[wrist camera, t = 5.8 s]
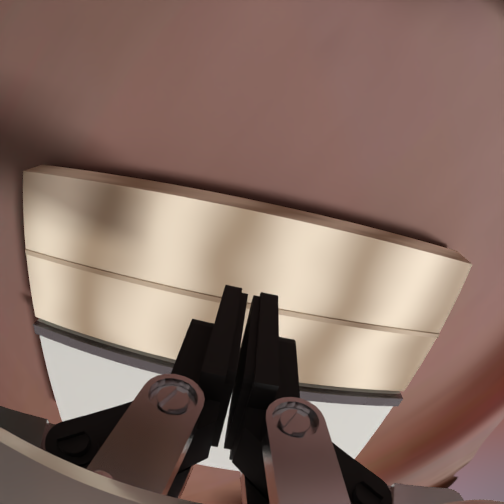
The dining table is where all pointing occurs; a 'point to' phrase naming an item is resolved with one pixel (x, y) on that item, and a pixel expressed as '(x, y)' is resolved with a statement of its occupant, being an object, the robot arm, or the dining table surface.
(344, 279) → the plank
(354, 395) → the board
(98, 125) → the dining table surface
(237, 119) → the dining table surface
